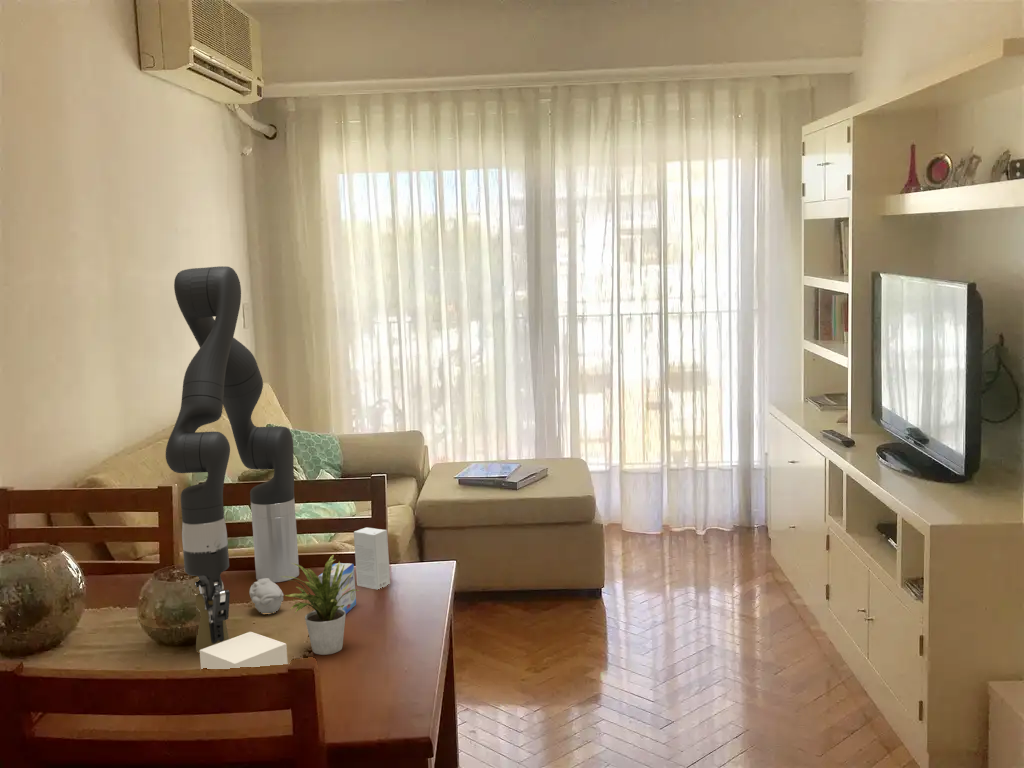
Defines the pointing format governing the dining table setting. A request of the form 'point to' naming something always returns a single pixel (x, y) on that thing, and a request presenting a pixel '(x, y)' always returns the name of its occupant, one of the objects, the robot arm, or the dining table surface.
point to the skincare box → (372, 558)
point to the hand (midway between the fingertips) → (212, 637)
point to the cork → (206, 626)
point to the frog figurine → (266, 596)
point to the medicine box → (344, 586)
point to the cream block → (244, 652)
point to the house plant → (323, 609)
